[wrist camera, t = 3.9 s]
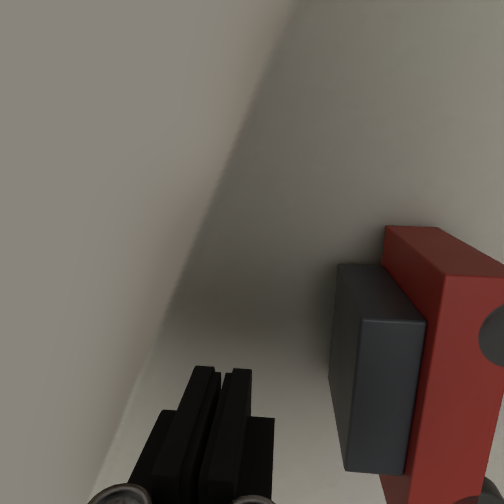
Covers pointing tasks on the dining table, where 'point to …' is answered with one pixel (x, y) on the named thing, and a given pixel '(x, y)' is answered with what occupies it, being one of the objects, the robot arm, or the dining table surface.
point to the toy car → (420, 367)
